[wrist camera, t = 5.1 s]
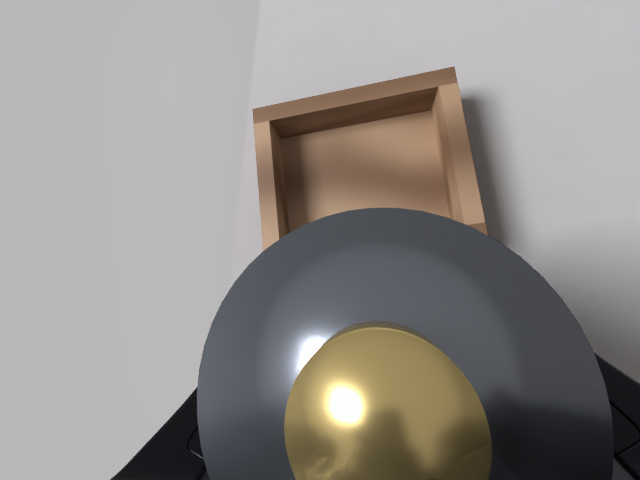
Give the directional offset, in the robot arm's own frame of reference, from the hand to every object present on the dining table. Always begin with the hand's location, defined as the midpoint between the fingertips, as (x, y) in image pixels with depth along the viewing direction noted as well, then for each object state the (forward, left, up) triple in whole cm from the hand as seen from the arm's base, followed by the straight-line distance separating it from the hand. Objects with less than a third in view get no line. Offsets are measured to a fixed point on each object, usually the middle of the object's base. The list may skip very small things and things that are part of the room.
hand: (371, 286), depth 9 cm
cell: (-1, -1, -7) cm, 7 cm away
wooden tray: (+4, +5, -10) cm, 12 cm away
